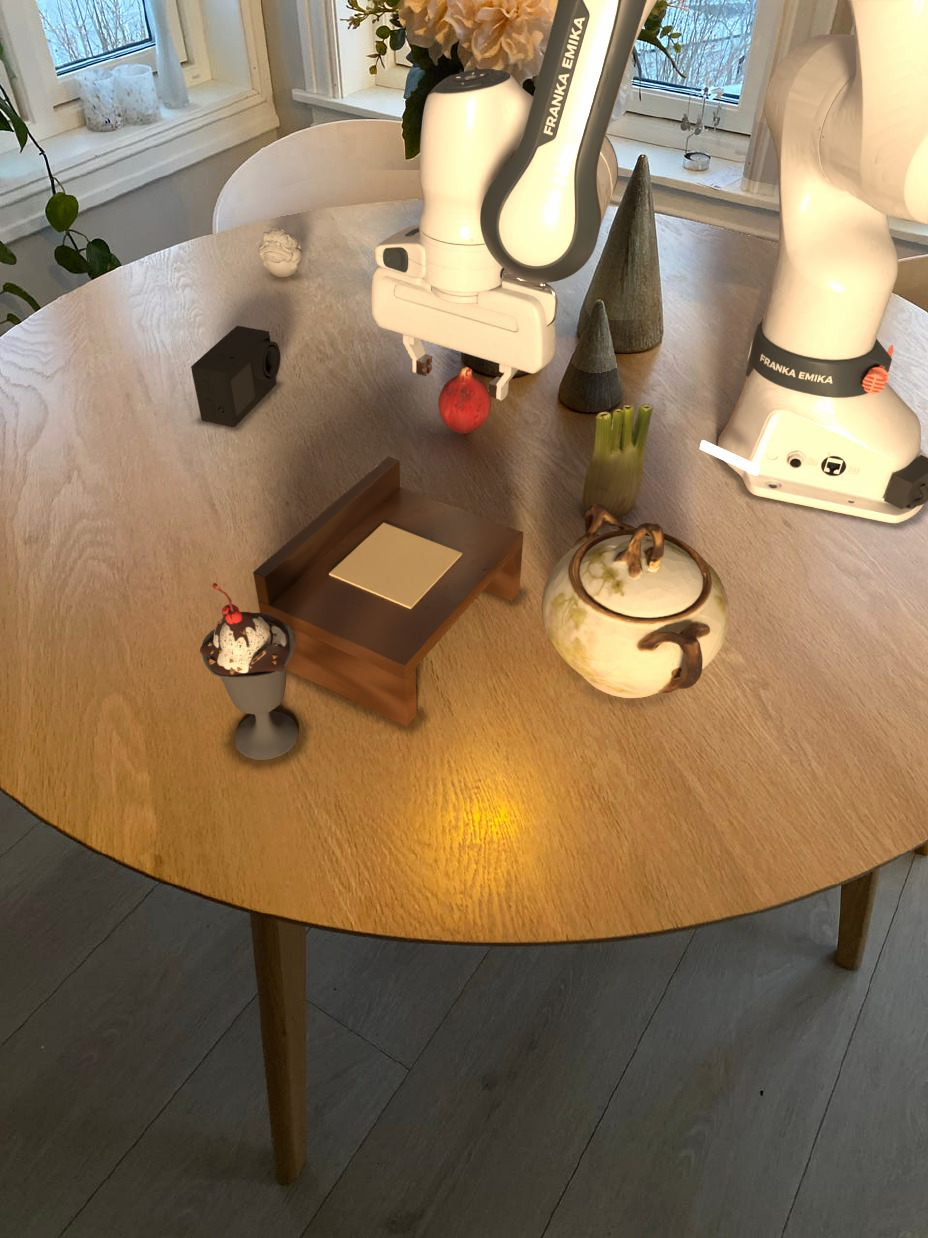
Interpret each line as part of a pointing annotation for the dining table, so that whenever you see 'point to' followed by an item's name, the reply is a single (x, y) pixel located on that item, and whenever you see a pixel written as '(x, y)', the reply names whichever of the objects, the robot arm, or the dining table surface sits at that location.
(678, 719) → the dining table surface
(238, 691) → the sundae
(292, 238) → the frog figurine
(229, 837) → the dining table surface
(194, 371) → the digital camera
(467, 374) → the pomegranate
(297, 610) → the shelf
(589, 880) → the dining table surface
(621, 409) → the fennel bulb
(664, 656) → the sugar bowl
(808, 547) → the dining table surface
